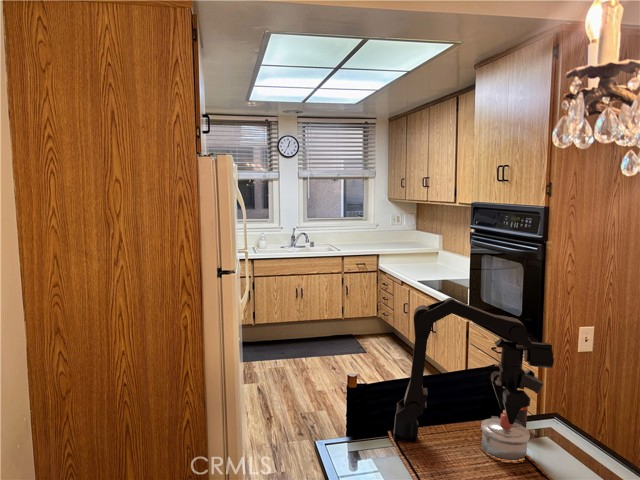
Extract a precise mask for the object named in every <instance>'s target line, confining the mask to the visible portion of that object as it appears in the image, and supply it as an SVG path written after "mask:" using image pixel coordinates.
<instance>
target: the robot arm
mask: <svg viewBox="0 0 640 480" xmlns="http://www.w3.org/2000/svg"><path fill="white" fill-rule="evenodd" d="M452 314H453V315H455V316H457V317H459V318H461V319H464V320H465V319H466V320H467V321H471V322H473V323H475V324H478V325H481V326H484V327H486V328H488V329H491V330H493V331H494V332H496V333H497V334H498V335H500V336H502V337H500V338H499V339H498V340H496V341H495V342H494V345H495V346H496V348H501V354H500V362H498V368H499V371H492V373H491V374H490V381H491V385H492V387H493V390H494V393H495V396H496V399H497V402H498V405H499V408H500V410H501V411H505V413H506V414H507V418H508V422H509V424H514V422H515V419H516V417H517V415H518V413H519V411H520V409H521V408H523V407H527V406H528V407H530V406H531V397H530V396H529V395H528V394H527V393H526V391H524V390H525V389H527V390H530V391H532V392H534V393H535V394H537V395H538V394H540V392H541V389H542V388H543V386H544V383H543V381H542V380H541V379H540V378H538V376H537V377H536V376H535V372H534V371H533V370H530V369H527V370H524V369H523V363H524V362H525V363H527V364H528V366H530V367H537V368H546V369H552V368H553V367H554V363H555V358H554V352H553V345H552V344H551V343H550V342H538V341H537V342H535V341H532V340H531V339H530V338H529V337H528V330H527V328H526V325H524V324H523V322H522V321H520V320H519V319H518V318H515V317H510V316H506V315H500V314H499V315H498V314H493V313H490V312H488V311H485V310H483V309H481V308H478V307H474V306H472V305H470V304H467V303H465V302H461V301H459V300H456V299H455V298H454V297H447V298H445V299H444V300H441V301H438V302H434V303H431V304H428V305H425V304H423V305H419V306H417V307H416V308H415V309H414V311H413V326H414V327H413V328H414V329H413V330H414V344H413V353H412V361H411V362H412V363H411V370H410V371H411V372H410V379H409V382H408V385H407V388H406V391H405V395H404V398H401V400H399V401H398V402H397V403H396V412H395V413H394V414H395V415H394V426H393V440H394V441H401V442H410V443H417V439H418V438H419V426H420V425H419V421H418V418H417V417H419V416H421V415H423V414H424V409H425V410H426V409H427V399H428V388H427V387H423V382H424V375H425V374H424V373H425V366H426V365H425V364H426V358H427V357H426V356H427V347H428V346H427V345H428V340H429V337H430V335H431V332H432V329H433V324H434V323H436V322H438V321H440V320H442V319H444V318H445V317H447V316H449V315H452ZM504 338H505V339H507V340H505V339H504ZM517 343H518V344H517ZM523 359H524V360H523ZM523 361H524V362H523Z"/></svg>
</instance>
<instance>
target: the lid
mask: <svg viewBox="0 0 640 480" xmlns="http://www.w3.org/2000/svg"><path fill="white" fill-rule="evenodd" d="M480 424H481V425H480V429H481V431H482V433H483V432H484V433H485V434H486V435H488V436H489V437H491V438H493V439H496V440H498V441H502V442H506V443H512V444H522V443H526V442H527V443H528V442H529V441H530V437H531V432H530V431H529V430H528V429H527V427H526V428H525V427H523V426H521V425H519V424H517V423H515V422H514V424H509V422H508V418H507V414H506V412H501V413H500V417H499V419H495V418H493V419H491V418H486V419H483V420H482V421H481V423H480Z"/></svg>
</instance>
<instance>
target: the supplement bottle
mask: <svg viewBox="0 0 640 480" xmlns="http://www.w3.org/2000/svg"><path fill="white" fill-rule="evenodd" d="M528 407H529V406H527V407H523V408H521V409H520V411H519V413H518V415H517V417H516V419H515V423H517V424H519V425H521V426H523V427H525V428H526V429H527V423H528V422H527V421H528Z"/></svg>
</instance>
